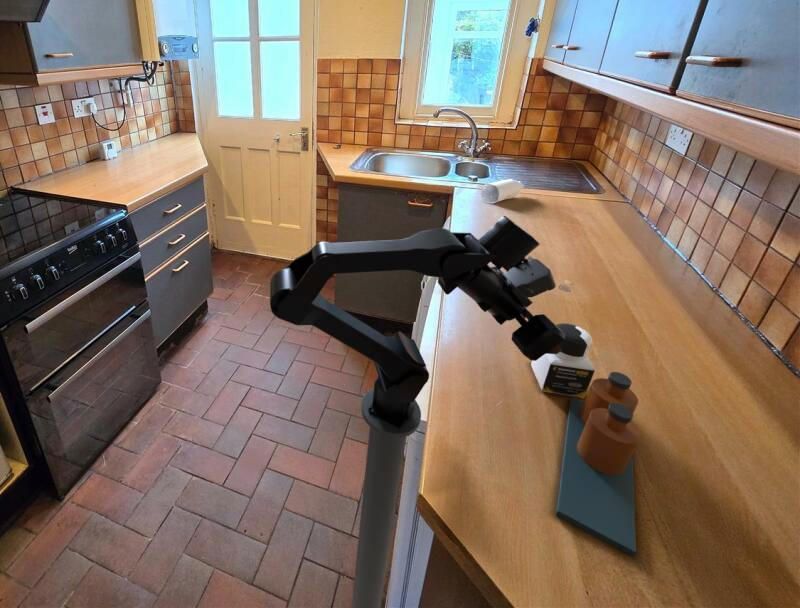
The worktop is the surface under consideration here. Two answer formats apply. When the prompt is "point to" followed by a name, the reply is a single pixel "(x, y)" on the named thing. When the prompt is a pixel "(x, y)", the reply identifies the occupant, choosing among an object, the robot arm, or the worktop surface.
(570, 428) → the tray
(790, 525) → the worktop surface
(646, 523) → the worktop surface
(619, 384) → the amber bottle far
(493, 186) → the white bottle
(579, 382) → the medicine bottle
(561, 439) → the worktop surface
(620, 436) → the amber bottle near
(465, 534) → the worktop surface
